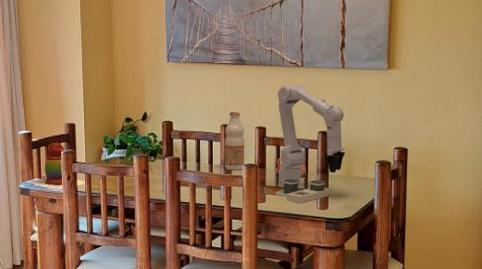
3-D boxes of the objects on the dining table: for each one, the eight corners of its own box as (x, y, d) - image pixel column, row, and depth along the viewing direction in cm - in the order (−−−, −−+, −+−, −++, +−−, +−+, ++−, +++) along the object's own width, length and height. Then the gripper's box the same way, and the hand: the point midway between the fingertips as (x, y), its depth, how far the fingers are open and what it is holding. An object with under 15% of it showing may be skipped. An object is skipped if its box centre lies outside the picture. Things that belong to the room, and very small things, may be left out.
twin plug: (309, 195, 283) (310, 181, 282) (316, 194, 286) (316, 179, 285) (318, 197, 280) (318, 182, 279) (324, 195, 283) (324, 181, 282)
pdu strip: (286, 201, 274) (286, 193, 274) (317, 193, 289) (318, 186, 288) (300, 204, 270) (300, 196, 269) (331, 196, 284) (331, 189, 283)
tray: (275, 195, 285) (275, 192, 284) (289, 192, 291) (289, 188, 291) (292, 199, 278) (292, 195, 278) (306, 196, 285) (306, 192, 285)
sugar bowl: (306, 178, 320) (307, 156, 318) (276, 178, 320) (276, 156, 319) (304, 173, 332) (305, 152, 331) (275, 173, 332) (275, 152, 331)
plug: (283, 194, 285) (283, 180, 284) (290, 192, 288) (290, 178, 287) (291, 196, 282) (291, 181, 281) (298, 194, 285) (298, 180, 284)
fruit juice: (221, 169, 340) (221, 112, 336) (230, 166, 348) (231, 111, 344) (238, 171, 336) (238, 114, 332) (247, 168, 344) (247, 112, 340)
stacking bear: (59, 185, 300) (58, 145, 298) (39, 183, 304) (38, 143, 301) (73, 181, 310) (72, 141, 308) (54, 179, 314) (53, 140, 311)
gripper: (339, 139, 272) (340, 173, 273) (348, 136, 285) (349, 168, 286) (321, 139, 275) (323, 173, 276) (331, 136, 288) (332, 168, 289)
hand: (335, 171), depth 281 cm, fingers open, 7 cm apart
